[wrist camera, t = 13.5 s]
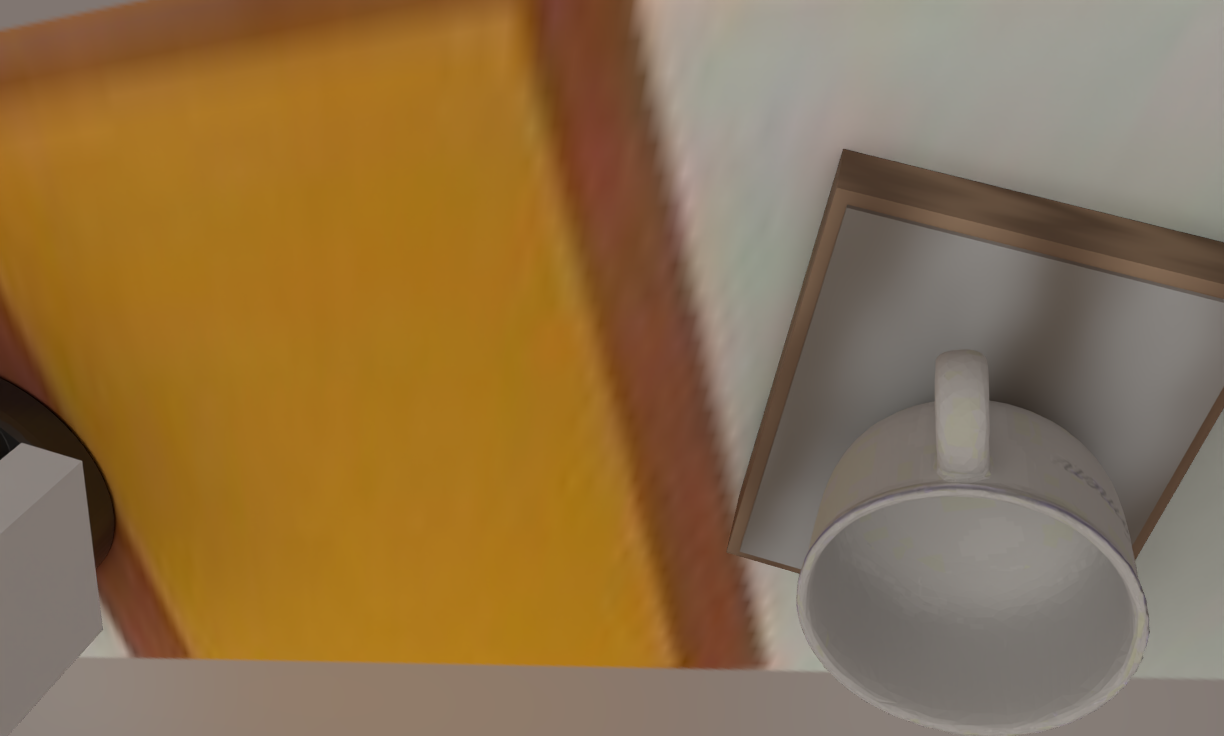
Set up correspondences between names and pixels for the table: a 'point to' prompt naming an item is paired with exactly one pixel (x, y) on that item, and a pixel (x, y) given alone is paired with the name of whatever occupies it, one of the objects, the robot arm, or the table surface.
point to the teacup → (973, 567)
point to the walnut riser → (987, 338)
